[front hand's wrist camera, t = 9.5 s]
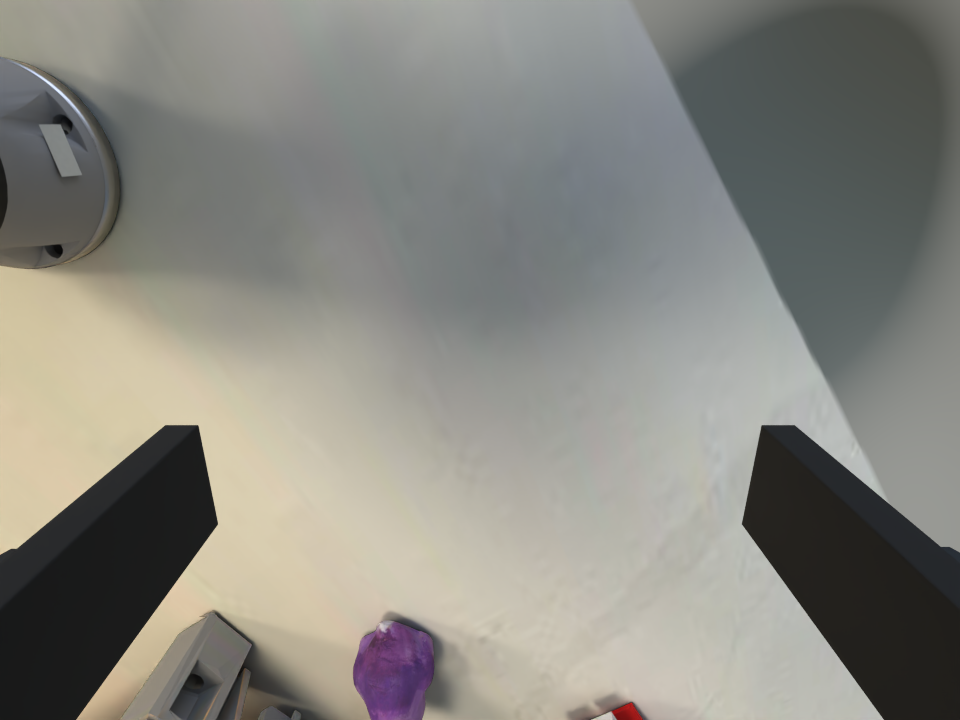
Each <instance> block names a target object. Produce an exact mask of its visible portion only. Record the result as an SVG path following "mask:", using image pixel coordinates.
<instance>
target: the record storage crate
mask: <svg viewBox="0 0 960 720" xmlns="http://www.w3.org/2000/svg"><path fill="white" fill-rule="evenodd" d="M200 617H206V618H204V619H203V620H201V621H199V622H198V623H196V624H194V625H193V626H191V627H189V628H188V629H186V630H184V631H183V632H181V633H179V634H178V636H177V637H176V639H175V640H174V642H173V643H172V645H171V646H170V648H169V649H168V650H167V652H166V653H165V655H164V656H163V658H162V659H161V661H160V662H159V664H158V665H157V667H156V668H155V669H154V671H153V672H152V674H151V675H150V677H149V678H148V680H147V681H146V683H145V684H144V685H143V687H142V688H141V690H140V691H139V693H138V694H137V696H136V697H135V699H134V700H133V701H132V703H131V704H130V706H129V707H128V709H127V710H126V712H125V713H124V715H123V716H122V717H121V719H120V720H240V719H241V715H242V711H243V706H244V702H245V697H246V693H247V689H248V684H249V680H250V675H251V672H250V671H248V670H247V669H246V668H244V670H243V671H242V673H241V675H240V677H239V678H238V677H237V675H238V673H239V671H240V668H241V666H242V664H243V662H244V660H245V658H246V656H247V654H248V652H249V650H250V648H251V646H252V644H250V643H249V642H248V641H247V640H245V639H244V638H243V637H242V636H240V635H239V634H238V633H237V632H236V631H234V630H233V629H232V628H231V627H229V626H228V625H227V624H226V623H225V622H223V621H222V620H221V619H220V618H218V617H217V615H216V614H215V613H213V612H210V613H208V614H205V615H202V616H200ZM258 720H301V713H299V712H298V711H296V710H294V713H293V715H292V717H291V718H289V717H288V716H286V715H285V714H283V713H282V712H280V711H279V710H278V709H276V708H275V707H273V706H270V707H268V708H266V709H264V710H263V711H261V713H260V715H259V718H258Z"/></svg>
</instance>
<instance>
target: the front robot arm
mask: <svg viewBox="0 0 960 720" xmlns="http://www.w3.org/2000/svg"><path fill="white" fill-rule="evenodd" d="M119 199H120V181H119V174H118V168H117V164H116V160H115V157H114V154H113V151H112V148H111V146H110V143H109V141H108V139H107V137H106V135H105V133H104V131H103V129H102V128H101V126H100V125H99V123H98V121H97V120H96V118H95V117H94V116H93V114H92V113H91V112H90V110H89V109H88V108H87V107H86V106H85V104H84V103H83V102H82V101H81V100H80V99H79V98H78V97H77V96H76V95H75V94H74V93H73V92H72V91H70V90H69V89H68V88H67V87H66V86H65V85H63V84H62V83H61V82H59V81H58V80H56V79H55V78H53V77H52V76H50V75H49V74H47V73H45V72H43V71H41V70H39V69H37V68H36V67H33V66H31V65H28V64H26V63H23V62H20V61H16V60H13V59H8V58H4V57H0V266H7V267H14V268H24V269H39V268H47V267H51V266H55V265H60V264H64V263H68V262H71V261H74V260H77V259H79V258H81V257H83V256H85V255H87V254H88V253H90V252H91V251H93V250H94V249H95V248H96V247H97V246H98V245H99V244H100V243H101V242H102V241H103V240H104V239H105V237H106V236H107V235H108V233H109V231H110V229H111V228H112V226H113V223H114V221H115V218H116V215H117V211H118V206H119ZM217 525H218V521H217V516H216V511H215V506H214V501H213V496H212V491H211V486H210V481H209V476H208V471H207V466H206V461H205V457H204V452H203V447H202V442H201V437H200V432H199V427H198V425H165V426H164V427H163V428H162V429H160V430H159V431H158V432H157V433H156V434H154V435H153V436H152V437H151V438H150V439H148V440H147V441H146V442H145V443H144V444H142V445H141V446H140V447H139V448H138V449H136V450H135V451H134V452H133V453H132V454H130V455H129V456H128V457H127V458H126V459H124V460H123V461H122V462H121V463H120V464H118V465H117V466H116V467H115V468H114V469H112V470H111V471H110V472H109V473H108V474H106V475H105V476H104V477H103V478H102V479H100V480H99V481H98V482H97V483H96V484H94V485H93V486H92V487H91V488H90V489H88V490H87V491H86V492H85V493H84V494H82V495H81V496H80V497H79V498H78V499H76V500H75V501H74V502H73V503H71V504H70V505H69V506H68V507H67V508H65V509H64V510H63V511H62V512H61V513H59V514H58V515H57V516H56V517H55V518H53V519H52V520H51V521H50V522H49V523H47V524H46V525H45V526H44V527H43V528H41V529H40V530H39V531H38V532H37V533H35V534H34V535H33V536H32V537H31V538H29V539H28V540H27V541H26V542H25V543H23V544H22V545H21V546H20V547H19V548H17V549H10V550H8V551H6V552H5V553H3V554H1V555H0V720H76V719H77V718H78V716H79V715H80V713H81V712H82V711H83V709H84V708H85V707H86V705H87V704H88V702H89V701H90V700H91V698H92V697H93V696H94V694H95V693H96V691H97V690H98V689H99V687H100V686H101V685H102V683H103V682H104V680H105V679H106V678H107V676H108V675H109V674H110V672H111V671H112V669H113V668H114V667H115V665H116V664H117V663H118V661H119V660H120V658H121V657H122V656H123V654H124V653H125V652H126V650H127V649H128V647H129V646H130V645H131V643H132V642H133V641H134V639H135V638H136V636H137V635H138V634H139V632H140V631H141V630H142V628H143V627H144V625H145V624H146V623H147V621H148V620H149V618H150V617H151V616H152V614H153V613H154V612H155V610H156V609H157V607H158V606H159V605H160V603H161V602H162V601H163V599H164V598H165V596H166V595H167V594H168V592H169V591H170V590H171V588H172V587H173V585H174V584H175V583H176V581H177V580H178V579H179V577H180V576H181V574H182V573H183V572H184V570H185V569H186V568H187V566H188V565H189V563H190V562H191V561H192V559H193V558H194V557H195V555H196V554H197V552H198V551H199V550H200V548H201V547H202V546H203V544H204V543H205V541H206V540H207V539H208V537H209V536H210V535H211V533H212V532H213V530H214V529H215V528H216V526H217ZM742 525H743V526H744V528H745V529H746V530H747V532H748V533H749V535H750V536H751V537H752V539H753V540H754V541H755V543H756V544H757V546H758V547H759V548H760V550H761V551H762V552H763V554H764V555H765V557H766V558H767V559H768V561H769V562H770V563H771V565H772V566H773V568H774V569H775V570H776V572H777V573H778V574H779V576H780V577H781V579H782V580H783V581H784V583H785V584H786V585H787V587H788V588H789V590H790V591H791V592H792V594H793V595H794V596H795V598H796V599H797V601H798V602H799V603H800V605H801V606H802V607H803V609H804V610H805V612H806V613H807V614H808V616H809V617H810V618H811V620H812V621H813V623H814V624H815V625H816V627H817V628H818V630H819V631H820V632H821V634H822V635H823V636H824V638H825V639H826V641H827V642H828V643H829V645H830V646H831V647H832V649H833V650H834V652H835V653H836V654H837V656H838V657H839V658H840V660H841V661H842V663H843V664H844V665H845V667H846V668H847V669H848V671H849V672H850V674H851V675H852V676H853V678H854V679H855V680H856V682H857V683H858V685H859V686H860V687H861V689H862V690H863V691H864V693H865V694H866V696H867V697H868V698H869V700H870V701H871V702H872V704H873V705H874V707H875V708H876V709H877V711H878V712H879V713H880V715H881V716H882V718H883V719H884V720H960V553H959V552H958V551H956V550H954V549H952V548H950V547H940V546H939V545H938V544H937V543H935V542H934V541H933V540H932V539H931V538H929V537H928V536H927V535H926V534H924V533H923V532H922V531H921V530H920V529H919V528H917V527H916V526H915V525H914V524H913V523H911V522H910V521H909V520H908V519H907V518H905V517H904V516H903V515H902V514H901V513H899V512H898V511H897V510H896V509H895V508H893V507H892V506H891V505H890V504H889V503H887V502H886V501H885V500H884V499H882V498H881V497H880V496H879V495H878V494H876V493H875V492H874V491H873V490H872V489H870V488H869V487H868V486H867V485H866V484H864V483H863V482H862V481H861V480H860V479H858V478H857V477H856V476H855V475H854V474H852V473H851V472H850V471H849V470H848V469H846V468H845V467H844V466H843V465H842V464H840V463H839V462H838V461H837V460H836V459H834V458H833V457H832V456H831V455H830V454H828V453H827V452H826V451H825V450H824V449H822V448H821V447H820V446H819V445H818V444H816V443H815V442H814V441H813V440H812V439H810V438H809V437H808V436H807V435H806V434H804V433H803V432H802V431H801V430H800V429H798V428H797V427H796V426H795V425H762V427H761V432H760V437H759V442H758V447H757V451H756V456H755V461H754V466H753V471H752V476H751V481H750V486H749V491H748V496H747V501H746V506H745V511H744V516H743V521H742Z"/></svg>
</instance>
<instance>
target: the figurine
mask: <svg viewBox="0 0 960 720" xmlns="http://www.w3.org/2000/svg"><path fill="white" fill-rule="evenodd" d="M433 674H434V647H433V641H432V638H431V637H430V636H429V635H428V634H427V633H424V632H422V631H417V630H415V629H413V628H411V627H409V626H406V625H404V624H401V623H398V622H395V621H382V622H380V623H379V624H378V625H377V628H376V631H375V632H374V633H371V634H369V635H366V636H364V637H363V638H362V639H361V641H360V646H359V651H358V655H357V658H356V660H355V664H354V669H353V679H354V685H355V687H356V689H357V691H358V693H359V694H360V695H361V697H362V698H363V700H364V702H365V704H366V706H367V709H368V712H369V715H370V718H371V720H422V717H423V714H424V710H425V691H426V689H427V688H428V687H429V685H430V684H431V682H432V679H433Z"/></svg>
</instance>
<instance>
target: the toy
mask: <svg viewBox="0 0 960 720" xmlns="http://www.w3.org/2000/svg"><path fill="white" fill-rule="evenodd" d="M592 720H643V719H642V717H641V716H640V714H639V713H638V711H637V710H636V708H635V707H634V705H633V704H632V703H629V704H627V705H625V706H623V707H620V708H618V709H616V710H614V711H611V712H609V713H606V714H604V715H601V716H599V717H597V718H594V719H592Z"/></svg>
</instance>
